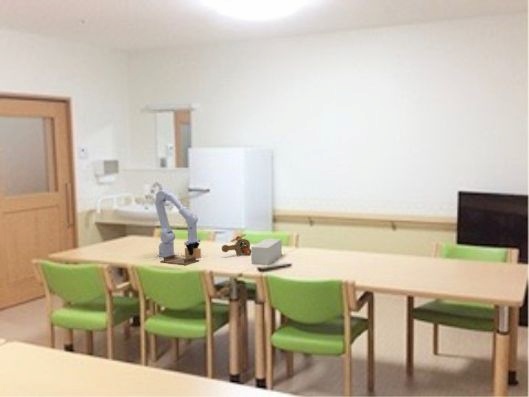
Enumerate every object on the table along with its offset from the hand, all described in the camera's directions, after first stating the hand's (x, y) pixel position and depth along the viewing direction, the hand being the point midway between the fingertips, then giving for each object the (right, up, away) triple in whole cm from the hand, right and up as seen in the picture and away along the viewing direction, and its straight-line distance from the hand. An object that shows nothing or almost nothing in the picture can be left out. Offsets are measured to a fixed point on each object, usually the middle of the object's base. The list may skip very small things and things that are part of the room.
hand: (192, 254), depth 367 cm
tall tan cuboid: (0, -2, 0) cm, 2 cm away
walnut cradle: (-7, -3, -13) cm, 15 cm away
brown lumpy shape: (+29, -1, +4) cm, 29 cm away
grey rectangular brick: (+48, -3, -8) cm, 49 cm away
